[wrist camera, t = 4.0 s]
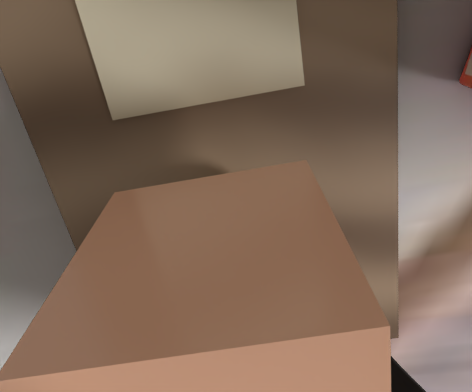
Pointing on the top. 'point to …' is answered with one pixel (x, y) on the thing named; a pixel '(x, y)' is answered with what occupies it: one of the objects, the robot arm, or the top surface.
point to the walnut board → (214, 103)
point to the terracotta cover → (210, 296)
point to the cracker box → (467, 72)
